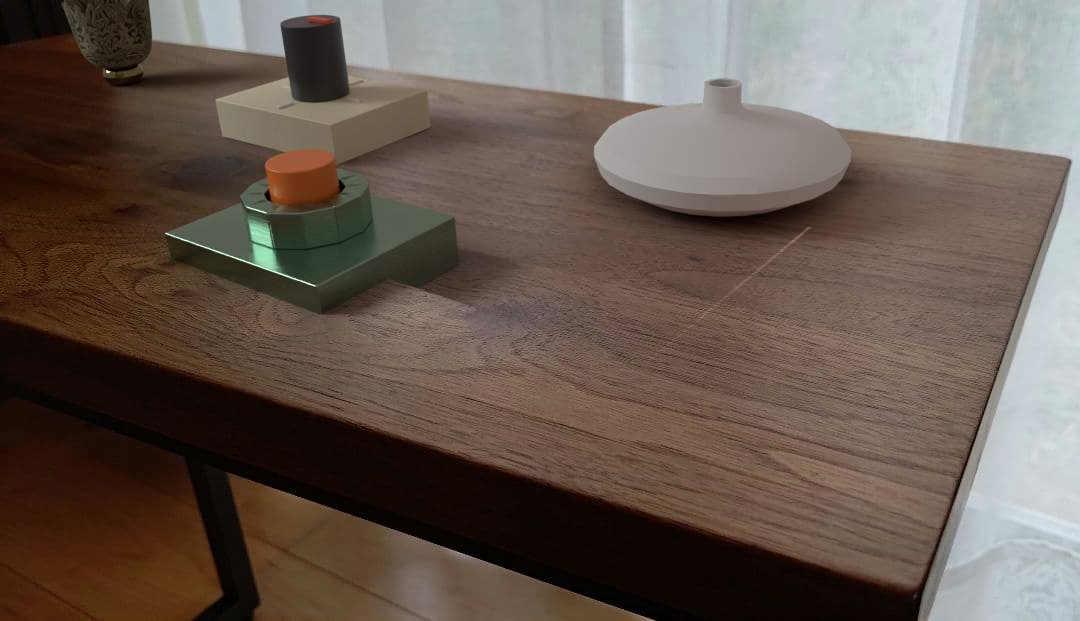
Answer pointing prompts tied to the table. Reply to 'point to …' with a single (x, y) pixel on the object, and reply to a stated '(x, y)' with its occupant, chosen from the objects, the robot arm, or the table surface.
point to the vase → (722, 155)
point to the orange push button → (302, 177)
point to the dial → (315, 58)
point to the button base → (319, 244)
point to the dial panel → (325, 118)
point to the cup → (112, 36)
